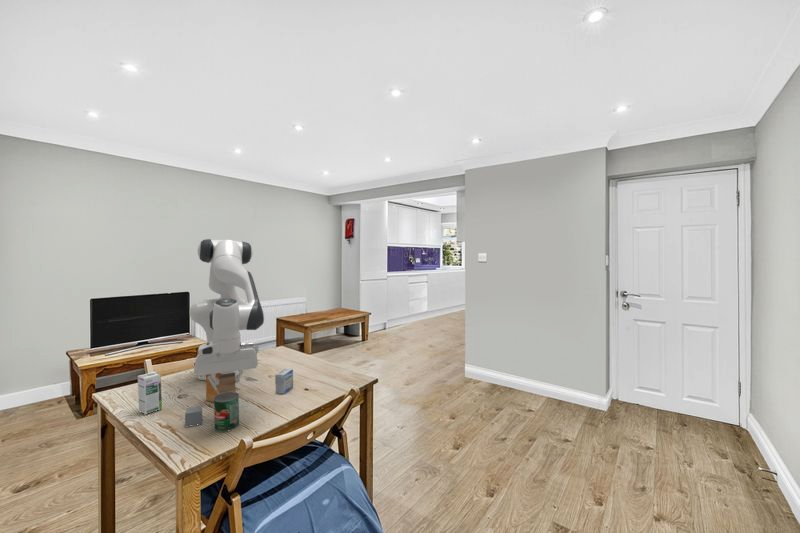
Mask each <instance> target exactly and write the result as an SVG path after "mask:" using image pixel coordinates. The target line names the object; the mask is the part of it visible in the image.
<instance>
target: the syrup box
mask: <svg viewBox="0 0 800 533" xmlns="http://www.w3.org/2000/svg"><path fill="white" fill-rule="evenodd" d="M137 388H138V389H137V390H138V391H137V392H138V394H137V395H138V411H141V412H143V413H144V414H147V413H150V412H153V411H156V412H158V411H157V410H159V411H161V410H160V409H163V405H162V404H163V403H162V402H163V401H162V400H163V399H162V376H161V373H159V372H157V371H151V372H148V373H145V374H140V375H137ZM141 412H140V413H141ZM153 413H154V412H153ZM144 414H143V415H144ZM150 414H151V413H150Z"/></svg>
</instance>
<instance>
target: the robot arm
mask: <svg viewBox="0 0 800 533" xmlns="http://www.w3.org/2000/svg"><path fill="white" fill-rule="evenodd" d="M197 256H198V258H199V260H200V261H201V262H203V263H208V264H209V263H210V267H209V277H208V278H209V279H208V287H209V289H210V290H211V291H212V292H214V293H216V294H219V295H220V297H219V298H213V299H203V300H199V301H196V302H194V303H192V305H191V306H190V308H189V316H190V319H191V320H192V321H193V322H194V323H196V324H197V325H200V327H202V328H203V330H204V332H205V335H206V343H203V344H201V345H199V346H198V349H197V353H198V354H197V355H196V357H195V361H194V367H193V368H194V369H193V373H194V375H195V376H196V377H198V380H199V381H202V380H203V381H206V375H208V374H211V377H212V379H213V380H214V381H215V386H216V385H219V379H217V378H216V377H215V376H216V373H223V372H230V371H232V373H234V372H235V384H236V383H240V381H241V379H240V378H241V376H242V375H243V373H244V371H245V370H250V369H251V370H253V369H256V368H257V367H258V366H259V363H258V362H259V361H258V360H259V359H258V355H257V354H258V353H259V345H258V344H257V343H254V342H249V343H248V342H247V343H246V342H245V343H244V342H243V343H241V333H240V331H257V330H258V329H260V327H261V326H262V325H264V322H265V312H264V310H263V308H262V304H261V301H260V299H259V295H258V290H257V288H256V284H255V281H254V278H253V276H252V273H251V272H250V271H249V270H247V269H246V268H245V267H244V266H243V265H246V264H247V265H248V263H249V262H251V259H252V257H253V248H252V245H251V244H250V243H249V242H247V241H238V240H233V239H211V238H208V239H207V238H205V239H203V240H201V241H200V243H199V244H198V246H197ZM236 288H240V289H242V290H243V292H244V293H245V296H246V299H247V300H245V299H244V298H242V297H241V296H239V294H238V293H237V290H236Z"/></svg>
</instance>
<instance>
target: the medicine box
mask: <svg viewBox="0 0 800 533" xmlns="http://www.w3.org/2000/svg"><path fill="white" fill-rule="evenodd" d="M274 376H275V379H274V380H275V385H274V386H275V394H278V395H279V394H280V395H285V394H287V393H288V392H289V391H290V390H292V389H293V388H294V369H292V368H284V369H283V370H281V371H279V372H278V373H275V375H274Z"/></svg>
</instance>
